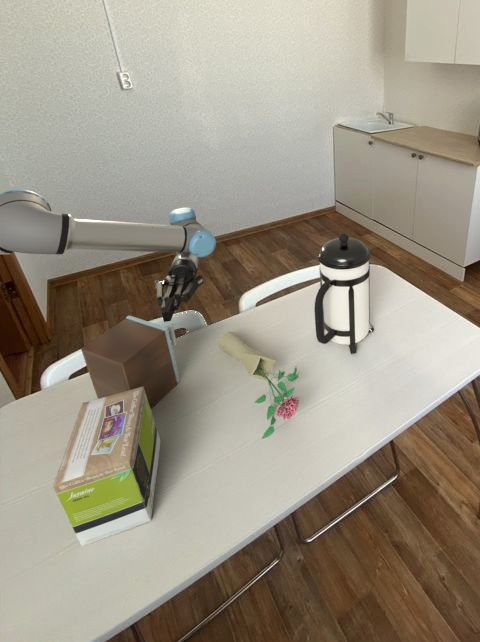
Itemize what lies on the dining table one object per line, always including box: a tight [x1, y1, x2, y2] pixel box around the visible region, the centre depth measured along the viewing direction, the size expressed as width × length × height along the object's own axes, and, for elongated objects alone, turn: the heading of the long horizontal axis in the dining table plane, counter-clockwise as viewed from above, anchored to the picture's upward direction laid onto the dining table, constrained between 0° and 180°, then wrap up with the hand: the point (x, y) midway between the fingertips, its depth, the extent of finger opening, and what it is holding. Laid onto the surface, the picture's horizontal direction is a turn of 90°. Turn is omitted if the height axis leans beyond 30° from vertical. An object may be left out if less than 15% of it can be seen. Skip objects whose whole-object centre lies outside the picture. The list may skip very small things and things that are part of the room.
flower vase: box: [217, 331, 301, 439], centre depth 84 cm, size 12×12×35 cm
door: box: [125, 315, 181, 384], centre depth 88 cm, size 3×12×15 cm, turn 68°
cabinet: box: [80, 318, 178, 410], centre depth 83 cm, size 10×12×15 cm
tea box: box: [52, 387, 162, 547], centre depth 64 cm, size 15×10×15 cm, turn 21°
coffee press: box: [314, 233, 375, 355], centre depth 96 cm, size 17×16×30 cm
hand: (166, 316), depth 95 cm, fingers closed
